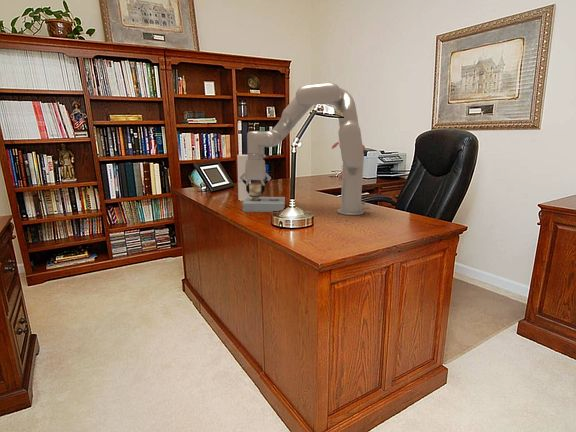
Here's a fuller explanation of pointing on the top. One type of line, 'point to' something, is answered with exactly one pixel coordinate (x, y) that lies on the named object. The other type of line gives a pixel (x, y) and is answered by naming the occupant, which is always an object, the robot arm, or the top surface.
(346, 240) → the top surface
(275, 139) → the robot arm
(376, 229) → the top surface
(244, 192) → the grey square post
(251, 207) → the mortise board
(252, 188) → the birch peg
